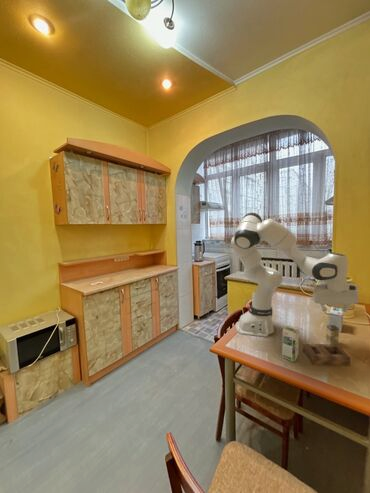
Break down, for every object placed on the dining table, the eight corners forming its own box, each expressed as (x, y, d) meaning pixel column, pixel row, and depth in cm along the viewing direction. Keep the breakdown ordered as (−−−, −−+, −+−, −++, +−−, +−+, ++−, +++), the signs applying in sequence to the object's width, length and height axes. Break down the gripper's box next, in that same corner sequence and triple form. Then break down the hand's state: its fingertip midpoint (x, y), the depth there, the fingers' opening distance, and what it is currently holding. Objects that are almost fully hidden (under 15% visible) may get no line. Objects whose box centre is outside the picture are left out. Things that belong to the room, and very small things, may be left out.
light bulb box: (329, 322, 138) (330, 306, 137) (342, 325, 134) (344, 308, 133) (327, 329, 130) (328, 312, 129) (341, 332, 126) (342, 315, 125)
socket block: (312, 364, 101) (312, 356, 100) (302, 351, 110) (303, 343, 110) (349, 365, 99) (350, 357, 98) (336, 351, 109) (337, 344, 108)
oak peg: (330, 345, 115) (330, 328, 114) (325, 340, 119) (326, 325, 118) (338, 345, 114) (339, 329, 113) (333, 340, 118) (334, 325, 117)
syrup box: (281, 357, 106) (282, 329, 104) (286, 351, 110) (287, 324, 108) (294, 362, 102) (295, 333, 100) (298, 356, 106) (299, 328, 104)
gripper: (316, 286, 108) (315, 313, 110) (361, 286, 105) (359, 314, 107) (310, 283, 114) (309, 308, 116) (353, 283, 112) (351, 308, 114)
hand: (334, 311), depth 112 cm, fingers open, 8 cm apart
